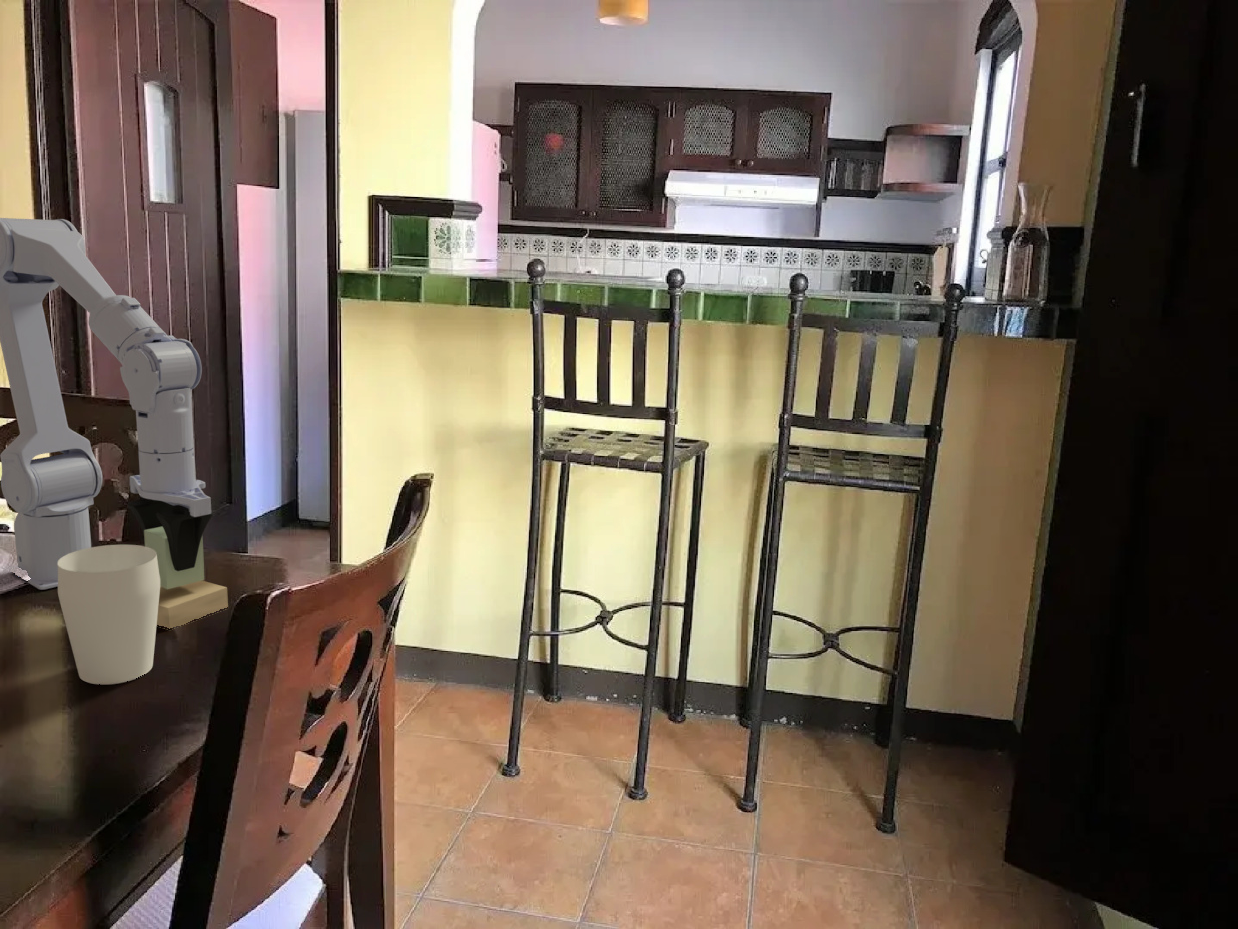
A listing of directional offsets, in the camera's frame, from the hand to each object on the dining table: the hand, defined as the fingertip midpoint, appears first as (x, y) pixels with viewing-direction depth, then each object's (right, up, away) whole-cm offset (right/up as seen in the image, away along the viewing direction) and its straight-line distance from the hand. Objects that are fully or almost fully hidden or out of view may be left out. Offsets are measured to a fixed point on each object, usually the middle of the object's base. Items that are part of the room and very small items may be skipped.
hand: (173, 563), depth 114 cm
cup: (+1, -10, -14) cm, 17 cm away
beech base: (0, -6, +1) cm, 6 cm away
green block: (0, -2, +1) cm, 2 cm away
